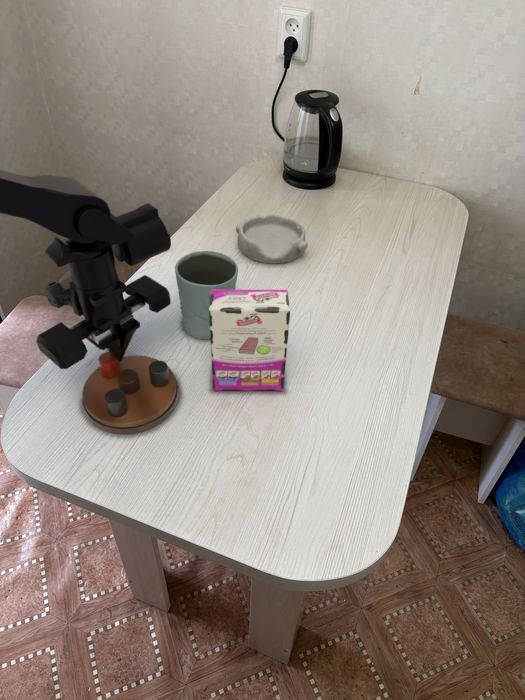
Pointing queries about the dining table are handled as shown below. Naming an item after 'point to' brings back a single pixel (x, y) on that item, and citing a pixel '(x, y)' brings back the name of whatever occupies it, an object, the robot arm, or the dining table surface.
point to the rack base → (137, 428)
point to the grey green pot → (202, 287)
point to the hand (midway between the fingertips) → (118, 360)
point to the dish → (271, 238)
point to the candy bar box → (248, 339)
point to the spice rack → (129, 390)
